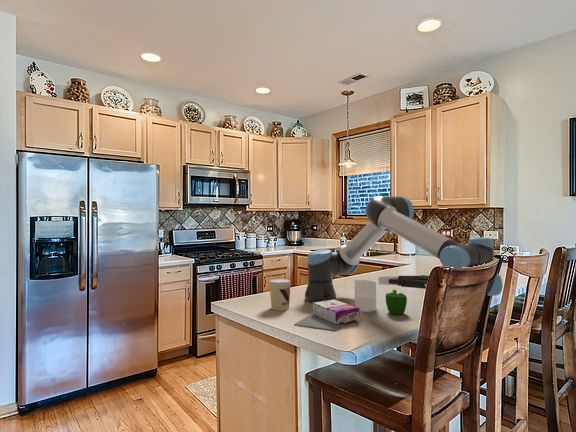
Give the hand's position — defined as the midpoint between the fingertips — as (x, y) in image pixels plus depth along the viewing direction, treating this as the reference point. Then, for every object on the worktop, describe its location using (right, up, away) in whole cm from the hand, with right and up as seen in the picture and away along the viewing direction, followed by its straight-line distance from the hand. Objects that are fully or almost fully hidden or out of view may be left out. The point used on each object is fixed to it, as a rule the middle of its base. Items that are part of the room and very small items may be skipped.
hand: (378, 280), depth 126 cm
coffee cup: (-36, -18, +28) cm, 49 cm away
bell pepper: (+11, -17, +18) cm, 27 cm away
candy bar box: (-10, -14, +4) cm, 18 cm away
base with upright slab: (+1, -17, +25) cm, 31 cm away
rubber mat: (-19, -17, +7) cm, 27 cm away
